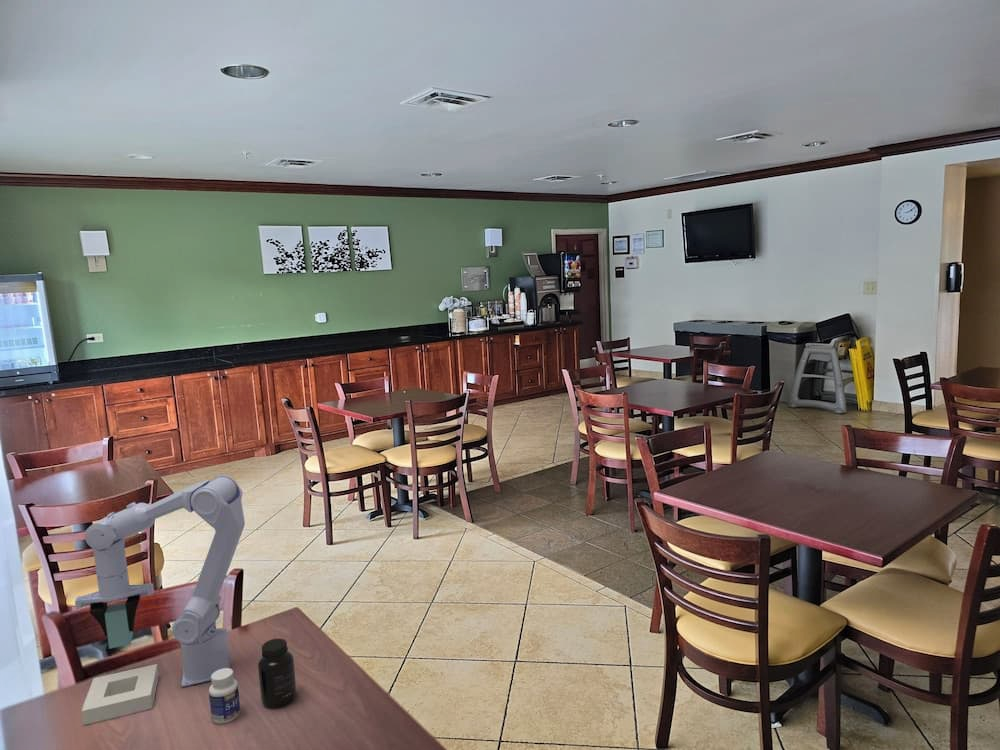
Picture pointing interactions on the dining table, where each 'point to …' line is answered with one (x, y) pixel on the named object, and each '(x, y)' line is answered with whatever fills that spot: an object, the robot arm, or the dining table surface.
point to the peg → (117, 625)
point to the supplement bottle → (276, 674)
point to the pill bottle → (224, 696)
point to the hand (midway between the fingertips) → (120, 631)
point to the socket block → (107, 706)
